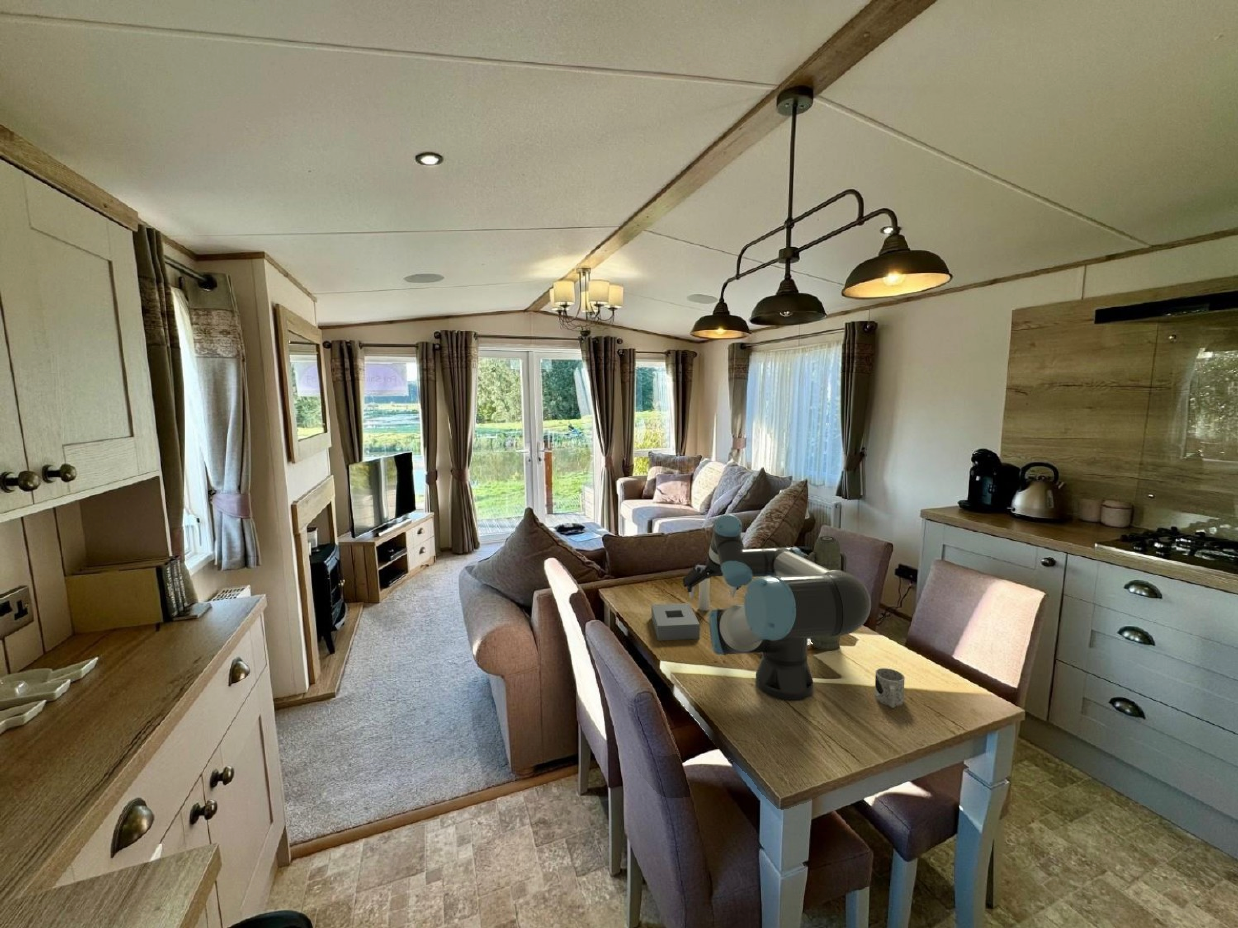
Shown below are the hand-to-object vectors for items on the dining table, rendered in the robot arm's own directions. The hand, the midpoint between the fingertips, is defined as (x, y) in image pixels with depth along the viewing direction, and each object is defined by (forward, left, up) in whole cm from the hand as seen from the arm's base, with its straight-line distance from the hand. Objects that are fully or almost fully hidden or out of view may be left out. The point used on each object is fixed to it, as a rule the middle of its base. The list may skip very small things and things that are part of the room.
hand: (711, 595), depth 164 cm
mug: (-39, -37, -16) cm, 56 cm away
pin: (+25, -3, -15) cm, 30 cm away
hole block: (+10, +11, -15) cm, 21 cm away
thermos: (-7, -35, -16) cm, 39 cm away
